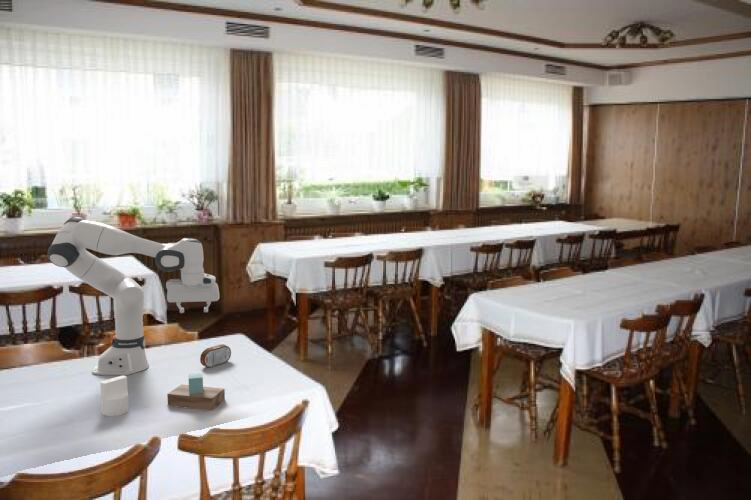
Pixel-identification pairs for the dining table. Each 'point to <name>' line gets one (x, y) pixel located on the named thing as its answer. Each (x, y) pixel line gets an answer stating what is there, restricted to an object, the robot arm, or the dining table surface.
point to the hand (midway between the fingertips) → (194, 312)
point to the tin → (215, 355)
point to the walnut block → (196, 398)
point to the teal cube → (196, 383)
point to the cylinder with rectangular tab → (114, 396)
